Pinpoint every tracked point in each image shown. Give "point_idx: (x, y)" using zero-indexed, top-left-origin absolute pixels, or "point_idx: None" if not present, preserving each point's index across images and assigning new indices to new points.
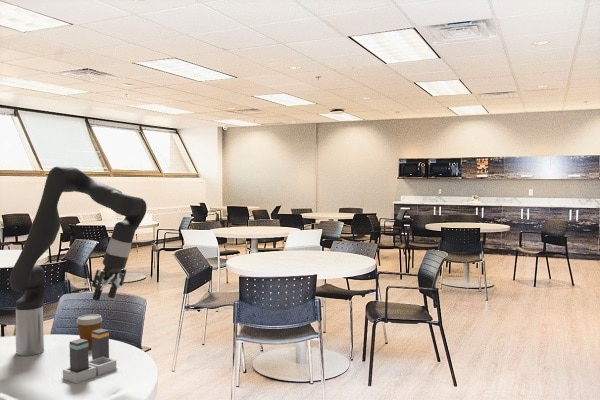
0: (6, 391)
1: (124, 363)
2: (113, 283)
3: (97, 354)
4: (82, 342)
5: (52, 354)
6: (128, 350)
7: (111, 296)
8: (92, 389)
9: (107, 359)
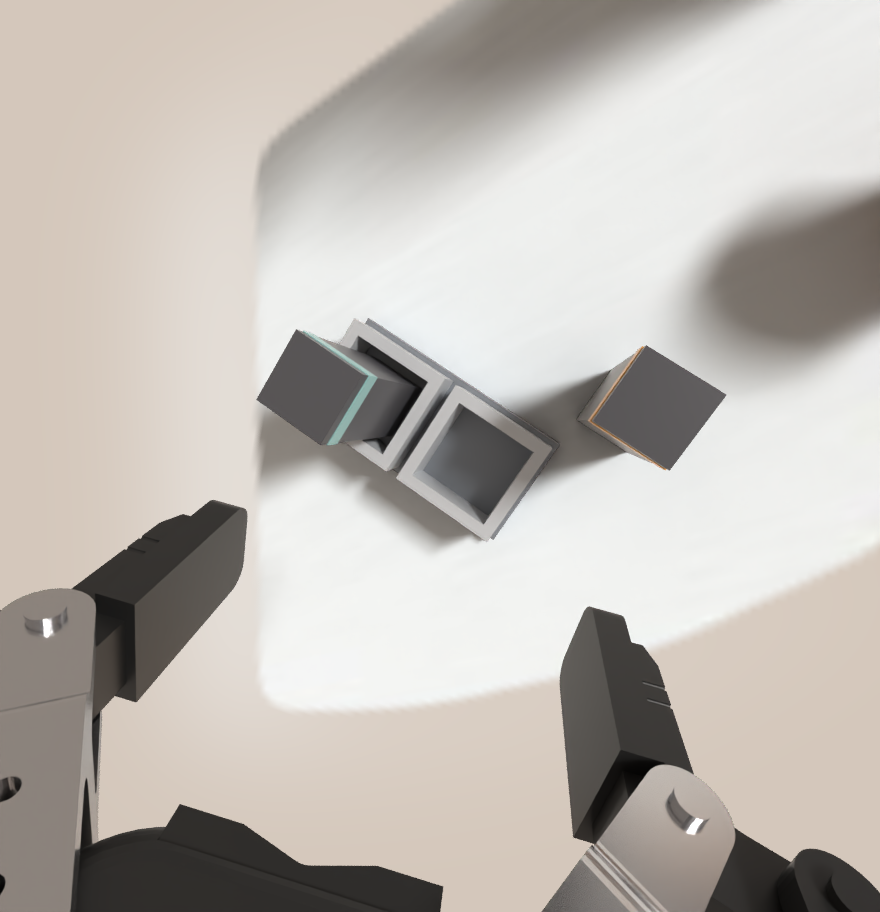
0: (284, 132)
1: (622, 531)
2: (663, 854)
3: (590, 405)
4: (289, 420)
5: (822, 39)
6: (869, 493)
7: (571, 661)
8: (303, 486)
9: (508, 488)
